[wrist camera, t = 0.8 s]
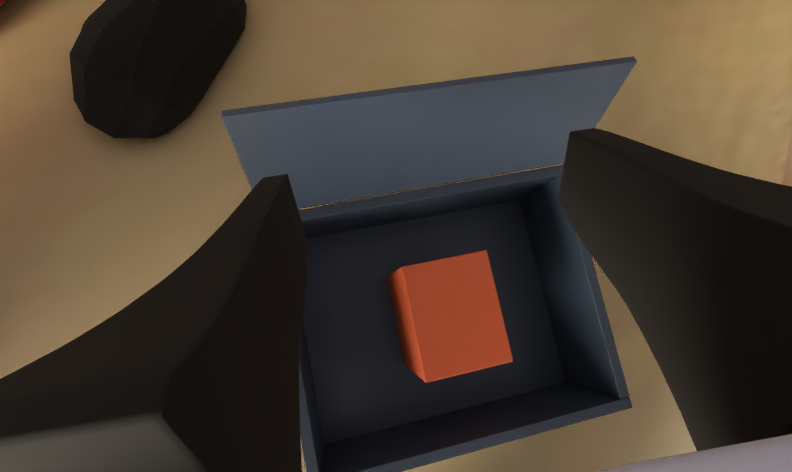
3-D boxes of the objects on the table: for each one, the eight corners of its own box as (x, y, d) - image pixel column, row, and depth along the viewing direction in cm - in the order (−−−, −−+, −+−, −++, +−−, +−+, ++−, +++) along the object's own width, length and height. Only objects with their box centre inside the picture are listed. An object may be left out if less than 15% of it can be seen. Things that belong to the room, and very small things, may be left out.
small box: (472, 349, 25) (514, 361, 19) (404, 365, 24) (425, 383, 18) (452, 263, 25) (487, 249, 19) (386, 276, 25) (401, 266, 19)
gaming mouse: (294, -26, 28) (287, -81, 24) (159, 164, 25) (125, 137, 21) (207, -76, 27) (185, -140, 24) (60, 109, 24) (6, 71, 20)
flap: (221, 117, 14) (221, 110, 14) (262, 215, 19) (261, 209, 19) (637, 61, 16) (633, 56, 16) (573, 161, 21) (570, 157, 21)
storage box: (317, 453, 23) (310, 497, 18) (279, 236, 25) (263, 216, 19) (571, 387, 25) (633, 407, 20) (521, 192, 27) (566, 164, 22)
